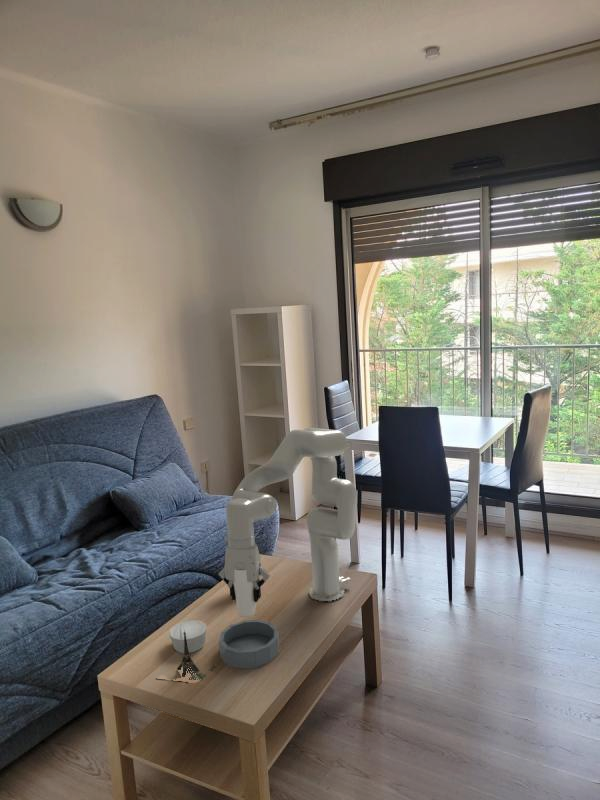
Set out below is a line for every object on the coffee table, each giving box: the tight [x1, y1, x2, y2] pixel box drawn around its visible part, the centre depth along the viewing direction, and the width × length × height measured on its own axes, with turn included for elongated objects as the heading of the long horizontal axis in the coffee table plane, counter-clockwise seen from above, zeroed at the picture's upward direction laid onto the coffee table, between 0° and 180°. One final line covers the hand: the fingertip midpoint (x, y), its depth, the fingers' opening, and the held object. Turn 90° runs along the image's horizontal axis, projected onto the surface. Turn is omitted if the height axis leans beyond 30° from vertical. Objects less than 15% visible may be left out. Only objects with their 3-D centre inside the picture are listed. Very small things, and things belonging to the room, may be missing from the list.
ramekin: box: [169, 619, 208, 654], centre depth 178 cm, size 11×11×5 cm
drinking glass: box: [233, 569, 257, 618], centre depth 171 cm, size 7×7×15 cm
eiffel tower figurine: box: [176, 630, 218, 681], centre depth 165 cm, size 15×10×13 cm
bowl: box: [218, 619, 280, 670], centre depth 173 cm, size 17×17×5 cm
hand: (245, 598), depth 171 cm, fingers closed on drinking glass, 6 cm apart
